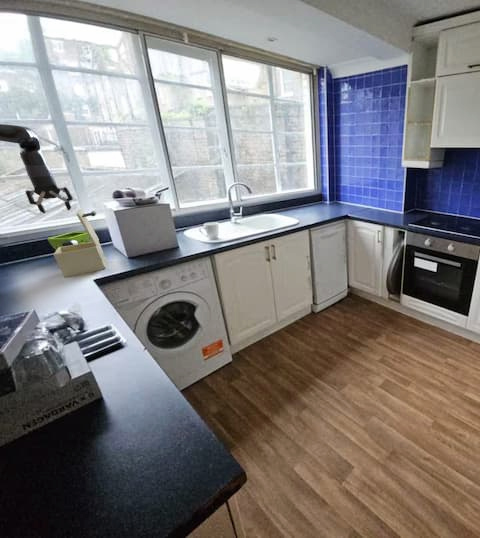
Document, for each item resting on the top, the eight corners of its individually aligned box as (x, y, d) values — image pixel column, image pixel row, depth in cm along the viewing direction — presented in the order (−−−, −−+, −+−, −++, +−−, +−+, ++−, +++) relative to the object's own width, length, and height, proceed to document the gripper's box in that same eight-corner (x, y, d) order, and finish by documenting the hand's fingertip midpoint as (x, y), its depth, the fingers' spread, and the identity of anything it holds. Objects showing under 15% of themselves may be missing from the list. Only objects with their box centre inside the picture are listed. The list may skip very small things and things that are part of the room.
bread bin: (64, 277, 141) (53, 254, 136) (68, 268, 151) (58, 247, 146) (105, 268, 149) (96, 247, 144) (107, 261, 159) (98, 240, 155)
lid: (76, 214, 137) (91, 211, 139) (80, 209, 147) (94, 206, 150) (94, 246, 144) (109, 242, 147) (97, 240, 154) (110, 236, 157)
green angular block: (101, 251, 175) (92, 231, 170) (77, 260, 162) (67, 238, 157) (81, 251, 177) (72, 231, 172) (56, 260, 164) (45, 238, 159)
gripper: (63, 173, 137) (78, 208, 144) (20, 176, 130) (37, 212, 136) (60, 174, 132) (75, 210, 138) (15, 177, 124) (33, 215, 131)
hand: (56, 211), depth 137 cm, fingers open, 8 cm apart
